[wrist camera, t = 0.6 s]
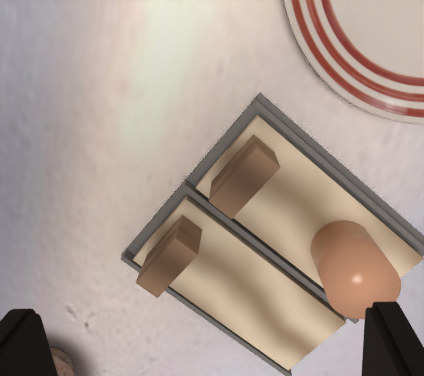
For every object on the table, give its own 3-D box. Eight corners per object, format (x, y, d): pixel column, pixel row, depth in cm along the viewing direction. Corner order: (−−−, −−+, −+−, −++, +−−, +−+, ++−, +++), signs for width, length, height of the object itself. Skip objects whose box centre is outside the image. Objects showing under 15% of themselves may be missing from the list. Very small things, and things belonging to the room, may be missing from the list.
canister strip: (353, 306, 42) (372, 348, 36) (196, 183, 38) (190, 208, 32) (418, 252, 39) (450, 288, 34) (257, 113, 35) (262, 127, 30)
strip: (286, 362, 45) (294, 409, 39) (135, 254, 41) (119, 288, 35) (342, 315, 42) (360, 357, 37) (187, 194, 38) (179, 221, 33)
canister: (340, 283, 40) (361, 330, 33) (297, 250, 39) (311, 291, 32) (384, 244, 38) (416, 286, 31) (341, 208, 37) (365, 243, 30)
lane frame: (283, 368, 47) (285, 380, 45) (122, 254, 42) (117, 263, 40) (432, 244, 40) (441, 253, 38) (260, 92, 35) (261, 95, 34)
